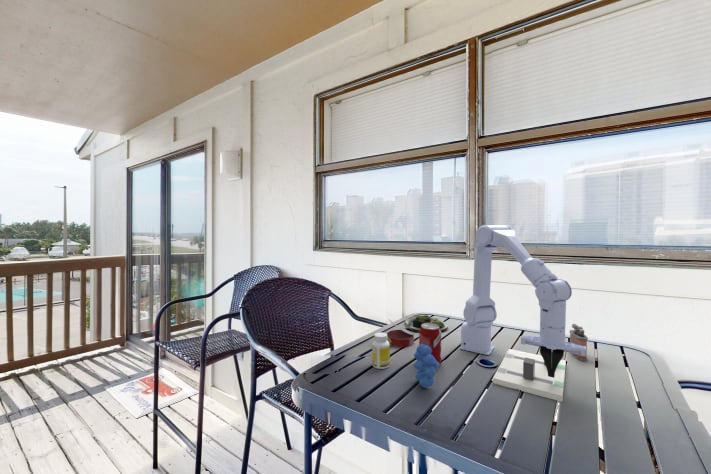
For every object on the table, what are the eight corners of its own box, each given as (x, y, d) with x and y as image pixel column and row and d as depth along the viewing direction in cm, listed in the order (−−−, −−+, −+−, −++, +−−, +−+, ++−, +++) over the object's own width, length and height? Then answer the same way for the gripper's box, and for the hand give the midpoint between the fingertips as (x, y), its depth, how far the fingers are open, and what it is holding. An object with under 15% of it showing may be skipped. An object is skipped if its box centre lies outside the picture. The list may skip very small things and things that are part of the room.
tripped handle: (523, 377, 87) (523, 362, 86) (524, 372, 90) (525, 357, 89) (533, 380, 85) (533, 364, 85) (534, 374, 88) (534, 359, 88)
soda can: (428, 370, 95) (428, 330, 95) (414, 361, 101) (414, 324, 101) (445, 365, 98) (446, 327, 98) (431, 357, 104) (431, 321, 104)
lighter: (590, 362, 100) (590, 330, 99) (578, 361, 100) (578, 330, 100) (577, 351, 108) (578, 322, 107) (566, 351, 108) (567, 322, 108)
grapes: (448, 397, 80) (449, 351, 80) (423, 400, 79) (423, 353, 79) (431, 375, 92) (431, 335, 91) (409, 377, 91) (409, 336, 90)
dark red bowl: (391, 349, 122) (392, 323, 127) (417, 351, 118) (417, 323, 122) (381, 345, 113) (382, 317, 118) (408, 346, 109) (409, 317, 113)
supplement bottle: (392, 363, 100) (391, 332, 99) (386, 370, 95) (386, 338, 94) (375, 360, 102) (375, 330, 102) (369, 367, 97) (369, 336, 97)
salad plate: (399, 319, 146) (399, 309, 146) (437, 318, 146) (438, 309, 146) (407, 334, 127) (407, 322, 126) (451, 333, 127) (451, 322, 127)
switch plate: (493, 383, 87) (493, 377, 87) (508, 353, 107) (508, 348, 107) (562, 401, 78) (562, 395, 78) (565, 365, 98) (565, 360, 97)
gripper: (519, 324, 85) (518, 374, 85) (586, 335, 76) (585, 390, 77) (523, 317, 90) (522, 364, 91) (586, 327, 82) (584, 378, 83)
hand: (551, 375), depth 84 cm, fingers closed
